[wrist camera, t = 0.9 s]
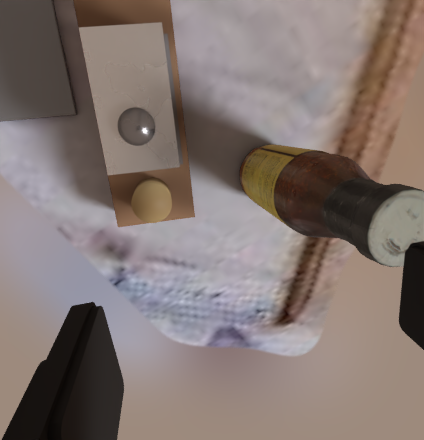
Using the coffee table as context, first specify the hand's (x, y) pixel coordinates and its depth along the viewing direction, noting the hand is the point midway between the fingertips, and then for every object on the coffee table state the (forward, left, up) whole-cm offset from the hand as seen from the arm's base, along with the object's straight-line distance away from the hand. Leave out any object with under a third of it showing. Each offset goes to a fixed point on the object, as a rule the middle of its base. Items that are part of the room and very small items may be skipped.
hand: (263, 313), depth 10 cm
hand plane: (-6, -4, -25) cm, 26 cm away
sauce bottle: (+1, +8, -25) cm, 26 cm away
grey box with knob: (-7, -4, -20) cm, 21 cm away
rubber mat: (-12, -13, -25) cm, 30 cm away
